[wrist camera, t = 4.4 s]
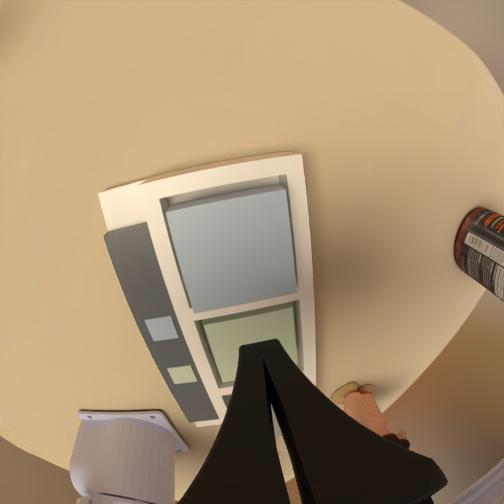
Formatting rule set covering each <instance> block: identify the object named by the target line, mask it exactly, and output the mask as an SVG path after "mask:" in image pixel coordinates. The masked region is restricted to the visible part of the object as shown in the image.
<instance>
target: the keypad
mask: <svg viewBox="0 0 504 504" xmlns="http://www.w3.org/2000/svg"><path fill="white" fill-rule="evenodd" d="M274 184H279V185H280V186H282V187H283V188H285V189H286V194H287V203H288V211H289V219H290V228H291V237H292V247H293V257H294V267H295V277H296V289H297V293H294V294H289V295H285V296H280V297H276V298H271V299H266V300H261V301H257V302H252V303H247V304H242V305H237V306H232V307H227V308H221V309H216V310H211V311H205V312H200V313H194V311H193V308H192V305H191V302H190V299H189V296H188V292H187V289H186V286H185V282H184V279H183V276H182V272H181V269H180V265H179V262H178V258H177V255H176V251H175V247H174V244H173V240H172V236H171V232H170V228H169V224H168V220H167V216H166V211H167V209H168V208H169V206H170V205H171V204H175V203H180V202H184V201H189V200H194V199H198V198H203V197H208V196H213V195H218V194H223V193H228V192H234V191H239V190H245V189H250V188H256V187H262V186H268V185H274ZM98 196H99V199H100V203H101V207H102V211H103V214H104V218H105V221H106V225H107V228H108V232H107V233H106V234H105V235H104V239H105V243H106V246H107V249H108V252H109V255H110V257H111V260H112V263H113V266H114V269H115V271H116V274H117V277H118V279H119V282H120V285H121V287H122V290H123V292H124V295H125V297H126V300H127V302H128V305H129V307H130V309H131V312H132V314H133V316H134V319H135V321H136V323H137V325H138V327H139V330H140V332H141V334H142V336H143V338H144V340H145V342H146V345H147V347H148V349H149V351H150V353H151V355H152V357H153V359H154V361H155V363H156V365H157V367H158V368H159V370H160V372H161V374H162V376H163V378H164V380H165V382H166V383H167V385H168V387H169V389H170V391H171V392H172V394H173V396H174V398H175V399H176V401H177V403H178V404H179V406H180V408H181V409H182V411H183V413H184V414H185V416H186V418H187V419H188V421H189V422H194V423H195V425H196V426H197V427H202V426H211V425H219V424H222V422H223V420H224V417H225V414H226V411H227V408H228V405H229V397H228V396H231V395H232V390H233V386H234V382H235V380H234V381H229V382H223V381H222V378H221V376H220V373H219V370H218V367H217V364H216V362H215V359H214V356H213V353H212V350H211V347H210V344H209V341H208V338H207V335H206V332H205V329H204V326H203V319H207V318H213V317H218V316H224V315H229V314H234V313H239V312H244V311H249V310H254V309H259V308H264V307H268V306H273V305H278V304H282V303H287V302H290V303H291V305H292V307H293V318H294V329H295V341H296V354H297V366H298V368H299V369H300V370H301V371H302V372H303V373H304V374H305V376H306V377H307V378H308V379H309V380H310V381H311V382H312V383H313V384H314V385H315V386H316V335H315V305H314V284H313V267H312V252H311V239H310V226H309V215H308V205H307V195H306V185H305V176H304V168H303V160H302V154H298V153H292V152H286V151H285V152H278V153H270V154H263V155H257V156H251V157H244V158H239V159H233V160H227V161H222V162H216V163H211V164H206V165H201V166H197V167H192V168H187V169H183V170H178V171H174V172H170V173H165V174H161V175H157V176H153V177H149V178H145V179H142V180H138V181H134V182H131V183H127V184H123V185H120V186H116V187H113V188H110V189H106V190H104V191H102V192H100V193H98Z"/></svg>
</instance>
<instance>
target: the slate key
mask: <svg viewBox="0 0 504 504" xmlns="http://www.w3.org/2000/svg"><path fill="white" fill-rule="evenodd" d="M166 216H167V220H168V224H169V228H170V232H171V236H172V240H173V244H174V247H175V251H176V255H177V258H178V262H179V265H180V269H181V272H182V276H183V279H184V282H185V286H186V289H187V292H188V296H189V299H190V302H191V305H192V308H193V311H194V313H200V312H205V311H211V310H216V309H221V308H227V307H232V306H237V305H242V304H247V303H252V302H257V301H261V300H266V299H271V298H276V297H280V296H285V295H289V294H294V293H297V289H296V277H295V267H294V257H293V247H292V237H291V228H290V219H289V211H288V203H287V194H286V189H285V188H283V187H282V186H280V185H279V184H274V185H268V186H262V187H256V188H250V189H245V190H239V191H234V192H228V193H223V194H218V195H213V196H208V197H203V198H198V199H194V200H189V201H184V202H180V203H175V204H171V205H170V206H169V208H168V209H167V211H166Z"/></svg>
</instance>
